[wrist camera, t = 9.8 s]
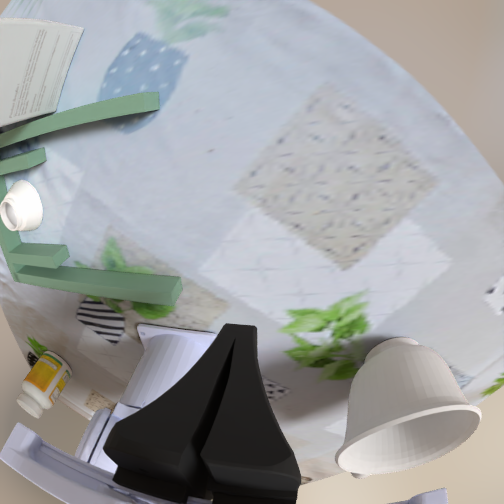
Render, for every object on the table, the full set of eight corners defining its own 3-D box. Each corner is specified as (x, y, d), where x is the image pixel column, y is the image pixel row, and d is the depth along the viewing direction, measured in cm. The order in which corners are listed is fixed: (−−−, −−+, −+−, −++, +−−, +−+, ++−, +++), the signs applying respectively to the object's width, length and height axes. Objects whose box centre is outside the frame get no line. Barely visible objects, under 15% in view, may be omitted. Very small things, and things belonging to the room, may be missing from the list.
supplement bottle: (78, 375, 35) (49, 425, 27) (60, 374, 37) (32, 418, 29) (56, 349, 33) (22, 398, 25) (39, 349, 35) (7, 394, 26)
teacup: (301, 397, 29) (296, 480, 21) (368, 295, 22) (394, 404, 13) (392, 410, 30) (402, 481, 21) (470, 322, 22) (508, 406, 13)
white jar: (27, 168, 21) (8, 196, 22) (5, 178, 18) (-11, 208, 20) (53, 211, 22) (32, 235, 24) (32, 225, 20) (14, 249, 22)
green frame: (182, 289, 24) (143, 364, 17) (25, 270, 27) (-19, 314, 19) (158, 92, 17) (78, 98, 10) (-9, 139, 19) (-70, 166, 12)
